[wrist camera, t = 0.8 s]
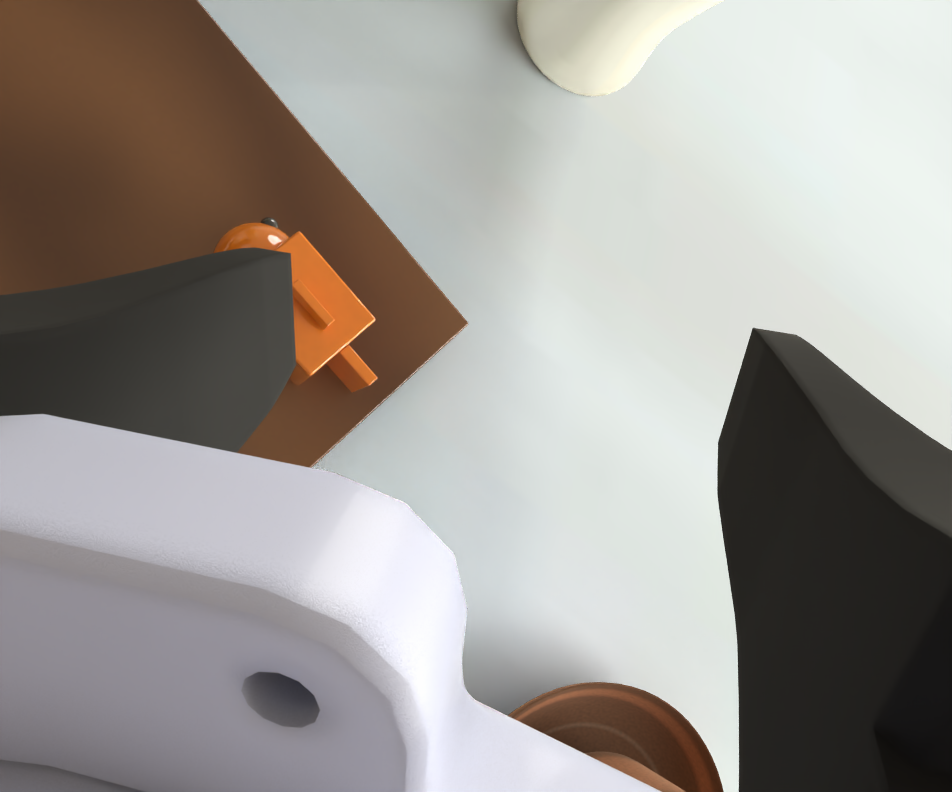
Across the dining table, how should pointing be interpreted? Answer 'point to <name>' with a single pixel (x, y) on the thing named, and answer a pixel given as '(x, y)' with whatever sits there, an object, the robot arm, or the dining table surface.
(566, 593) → the dining table surface
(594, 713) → the cup and saucer
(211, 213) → the board
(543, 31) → the beer glass
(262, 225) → the goldfish
